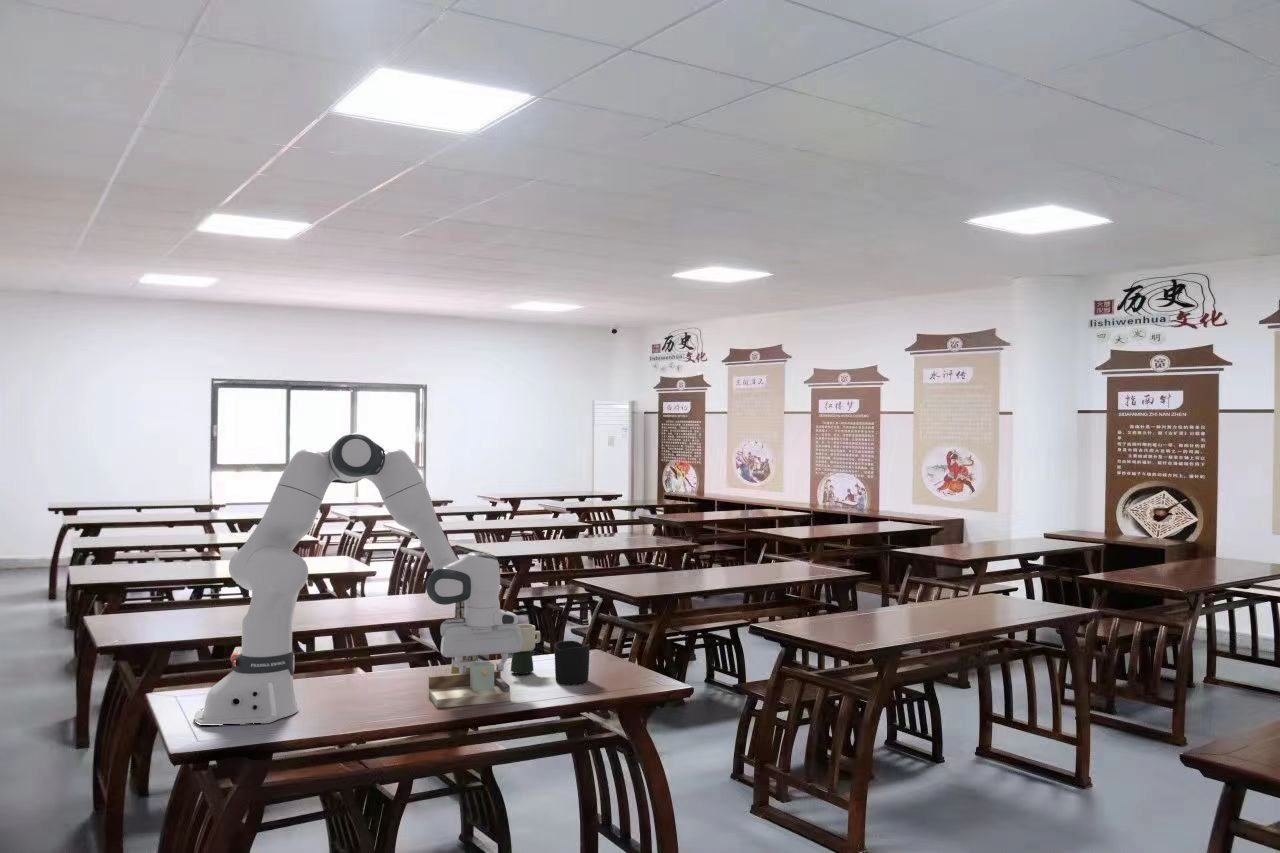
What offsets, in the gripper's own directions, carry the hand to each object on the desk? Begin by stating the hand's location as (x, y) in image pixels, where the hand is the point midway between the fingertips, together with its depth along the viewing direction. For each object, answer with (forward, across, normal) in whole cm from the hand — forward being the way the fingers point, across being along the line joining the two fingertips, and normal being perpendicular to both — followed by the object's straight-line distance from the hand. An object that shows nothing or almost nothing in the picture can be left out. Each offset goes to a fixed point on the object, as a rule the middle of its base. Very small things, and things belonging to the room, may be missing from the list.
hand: (481, 672), depth 243 cm
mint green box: (+4, 0, 0) cm, 4 cm away
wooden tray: (+6, -3, -1) cm, 7 cm away
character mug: (+6, +16, +20) cm, 26 cm away
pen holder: (+6, +26, +6) cm, 27 cm away
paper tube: (+6, -1, +16) cm, 17 cm away
